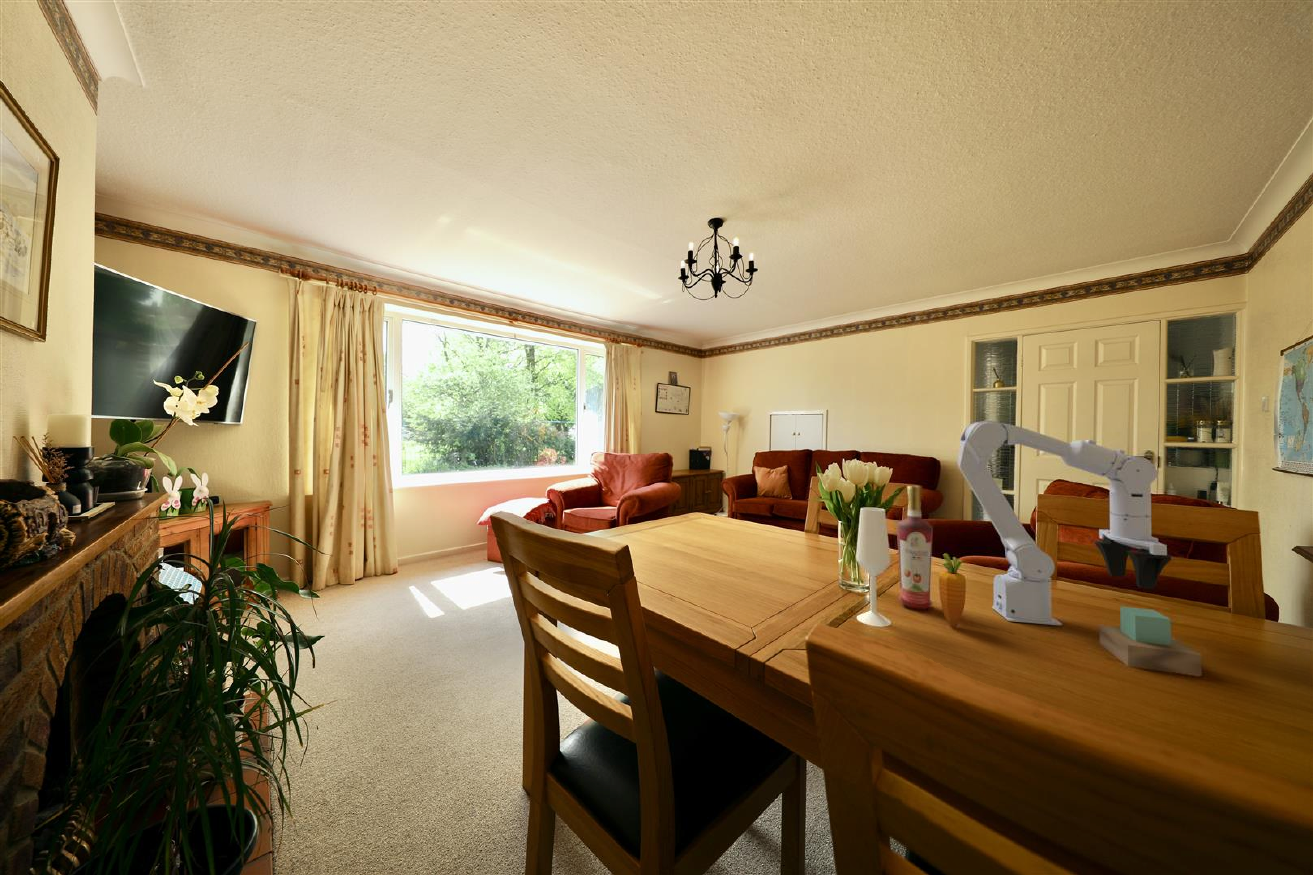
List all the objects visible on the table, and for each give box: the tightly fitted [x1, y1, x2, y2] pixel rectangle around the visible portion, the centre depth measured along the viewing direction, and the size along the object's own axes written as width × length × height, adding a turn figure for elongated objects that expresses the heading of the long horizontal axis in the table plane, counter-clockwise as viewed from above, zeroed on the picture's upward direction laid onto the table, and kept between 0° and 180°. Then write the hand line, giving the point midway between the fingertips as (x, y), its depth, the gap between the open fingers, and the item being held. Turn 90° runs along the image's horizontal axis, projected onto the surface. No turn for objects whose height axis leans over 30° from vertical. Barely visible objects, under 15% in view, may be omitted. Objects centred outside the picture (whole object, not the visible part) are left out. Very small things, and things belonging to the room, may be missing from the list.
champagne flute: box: [855, 506, 892, 628], centre depth 95 cm, size 7×7×24 cm
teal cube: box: [1119, 605, 1172, 646], centre depth 78 cm, size 4×4×4 cm
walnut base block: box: [1099, 624, 1203, 677], centre depth 78 cm, size 9×9×4 cm
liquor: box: [896, 485, 934, 611], centre depth 103 cm, size 7×7×28 cm
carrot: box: [938, 553, 967, 629], centre depth 91 cm, size 5×5×15 cm
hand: (1130, 582), depth 89 cm, fingers open, 7 cm apart
